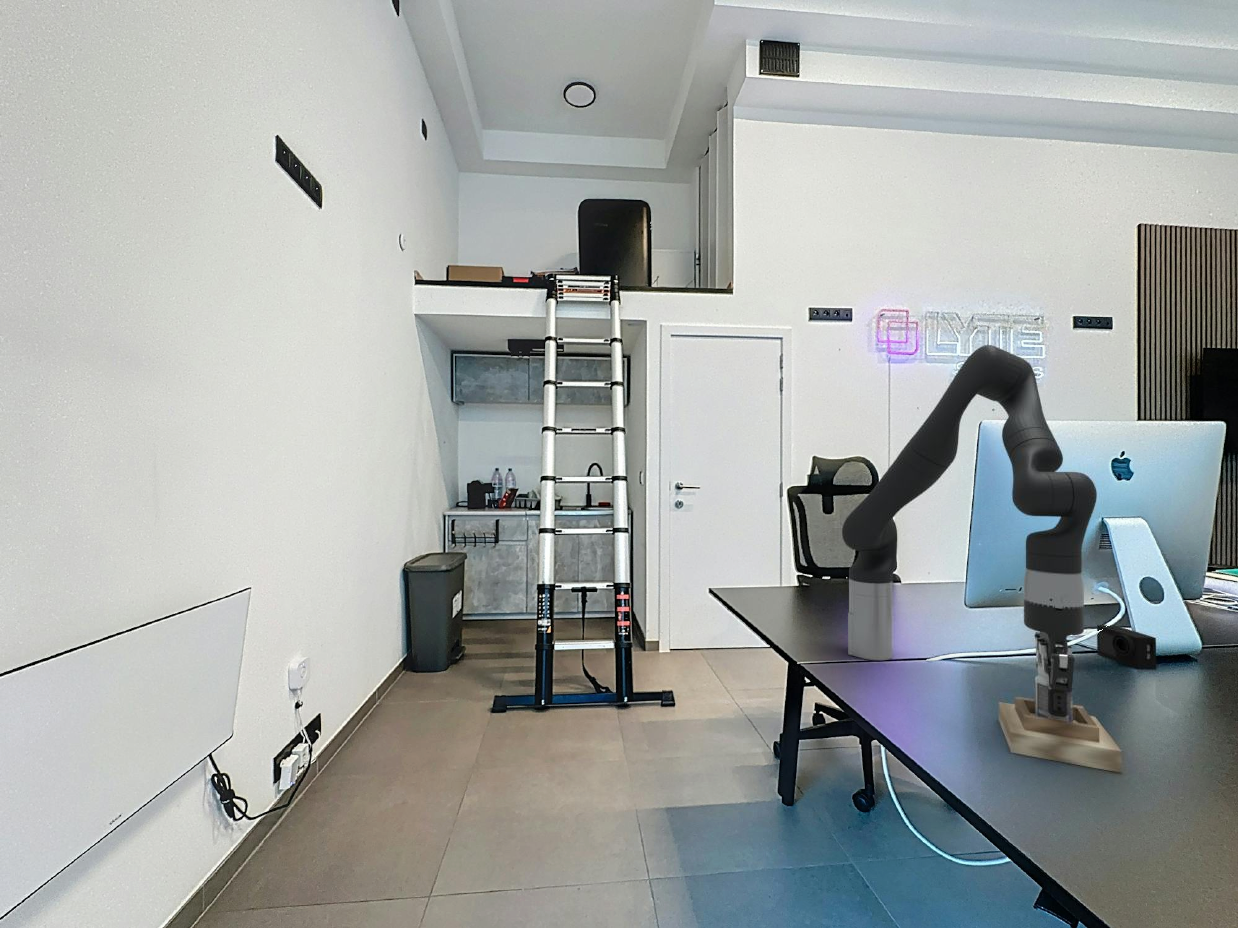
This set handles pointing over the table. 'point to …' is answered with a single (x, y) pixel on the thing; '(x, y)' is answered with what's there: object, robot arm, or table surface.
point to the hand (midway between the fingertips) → (1053, 708)
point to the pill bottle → (1042, 697)
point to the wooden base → (1058, 736)
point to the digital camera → (1126, 647)
